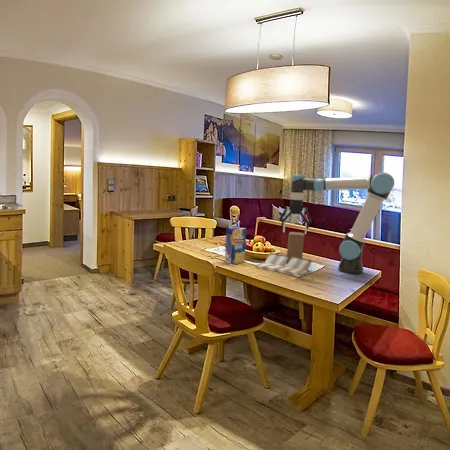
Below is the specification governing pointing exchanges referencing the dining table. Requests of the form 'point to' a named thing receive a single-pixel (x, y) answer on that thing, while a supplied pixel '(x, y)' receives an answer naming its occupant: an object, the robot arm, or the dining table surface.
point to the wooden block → (295, 245)
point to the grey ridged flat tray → (281, 269)
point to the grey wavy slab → (299, 263)
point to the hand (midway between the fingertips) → (294, 233)
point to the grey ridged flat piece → (277, 259)
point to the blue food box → (235, 245)
